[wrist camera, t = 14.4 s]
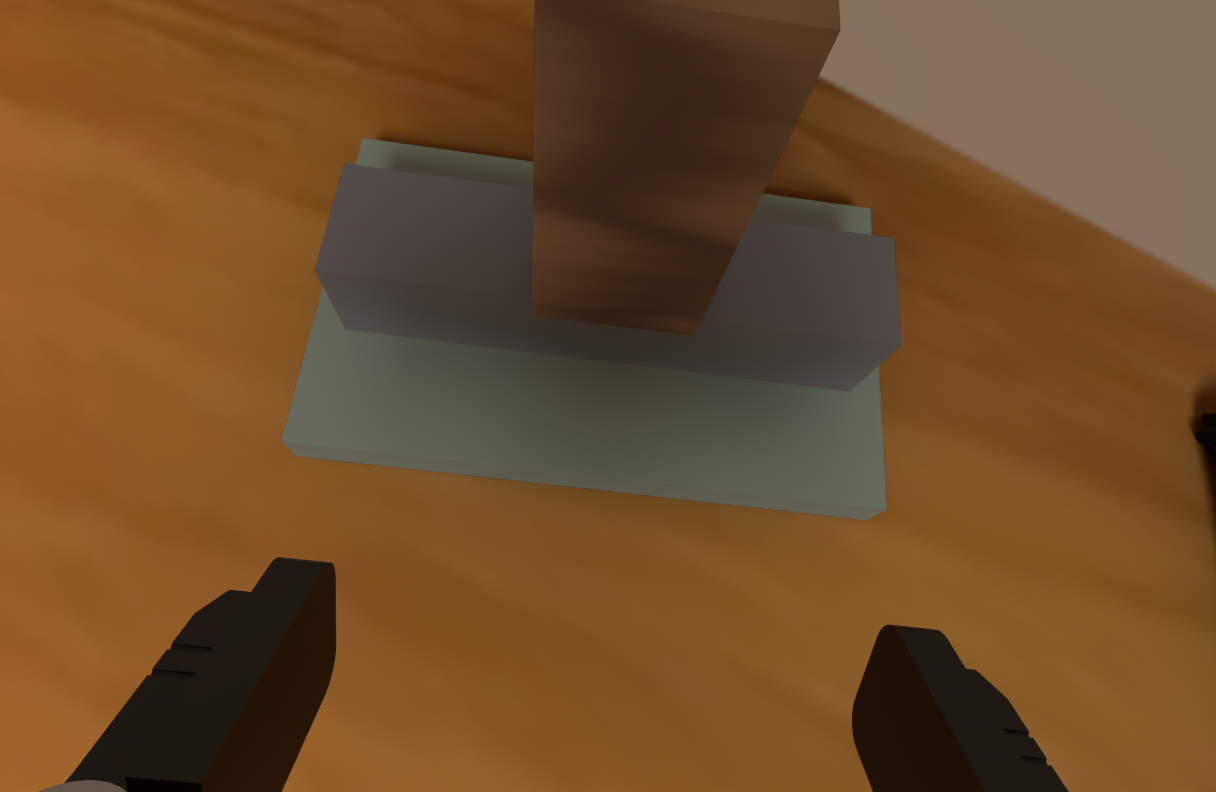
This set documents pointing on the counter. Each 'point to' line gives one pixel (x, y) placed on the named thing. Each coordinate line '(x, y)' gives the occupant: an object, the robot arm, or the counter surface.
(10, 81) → the counter surface
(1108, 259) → the counter surface
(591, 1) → the brown wooden block
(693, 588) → the counter surface
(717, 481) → the ridge board
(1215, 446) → the electric trimmer
